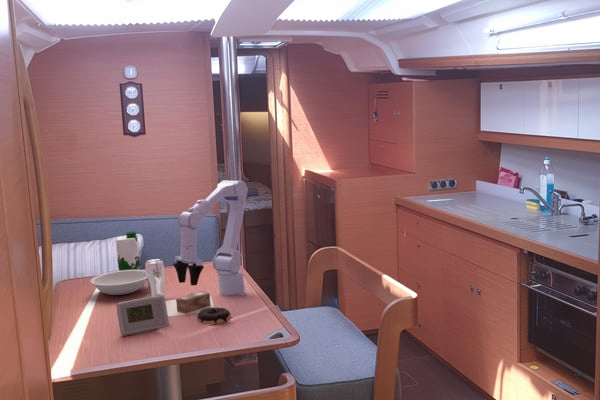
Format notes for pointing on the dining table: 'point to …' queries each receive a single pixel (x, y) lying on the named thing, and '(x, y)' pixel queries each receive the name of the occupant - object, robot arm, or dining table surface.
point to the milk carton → (128, 252)
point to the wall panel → (172, 311)
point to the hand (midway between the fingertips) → (187, 283)
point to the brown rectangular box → (193, 302)
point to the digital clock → (142, 315)
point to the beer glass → (155, 277)
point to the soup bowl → (120, 281)
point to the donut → (214, 316)
